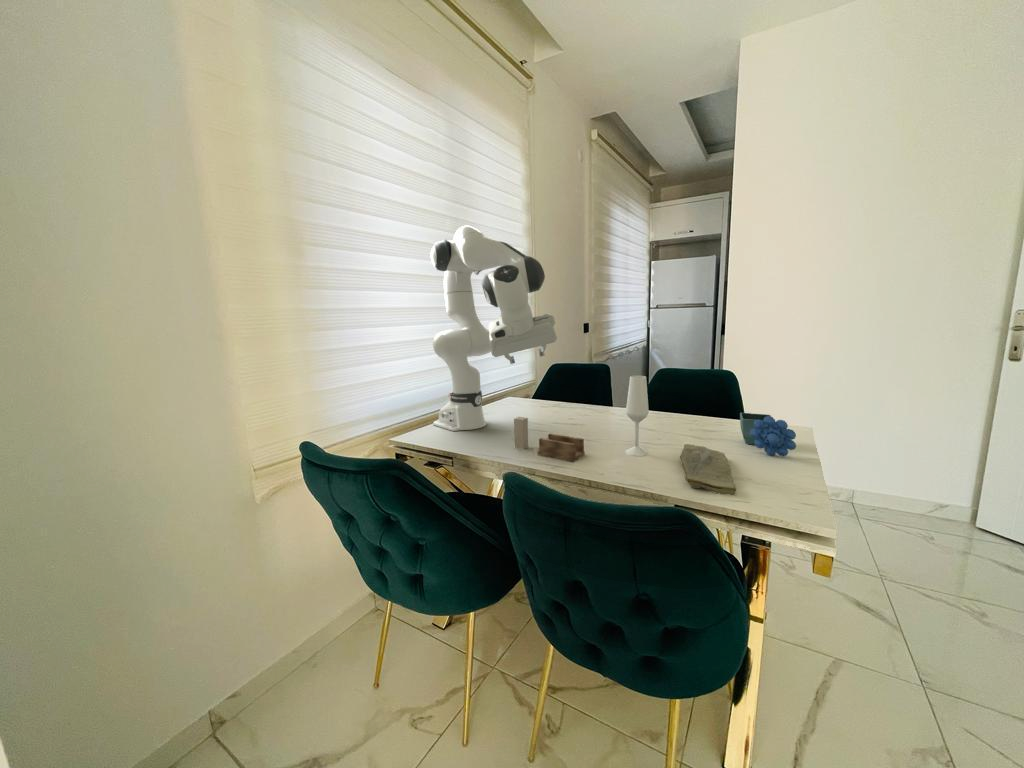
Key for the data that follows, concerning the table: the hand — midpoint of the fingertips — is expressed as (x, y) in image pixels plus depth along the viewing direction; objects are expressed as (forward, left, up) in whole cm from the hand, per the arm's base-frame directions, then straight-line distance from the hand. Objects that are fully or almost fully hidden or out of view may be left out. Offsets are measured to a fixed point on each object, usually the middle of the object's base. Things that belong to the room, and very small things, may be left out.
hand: (527, 358), depth 122 cm
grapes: (+65, +32, -30) cm, 78 cm away
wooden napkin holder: (+11, +2, -30) cm, 32 cm away
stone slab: (+50, +11, -31) cm, 60 cm away
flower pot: (+60, +44, -30) cm, 80 cm away
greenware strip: (-4, +2, -30) cm, 30 cm away
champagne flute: (+30, +16, -30) cm, 45 cm away
